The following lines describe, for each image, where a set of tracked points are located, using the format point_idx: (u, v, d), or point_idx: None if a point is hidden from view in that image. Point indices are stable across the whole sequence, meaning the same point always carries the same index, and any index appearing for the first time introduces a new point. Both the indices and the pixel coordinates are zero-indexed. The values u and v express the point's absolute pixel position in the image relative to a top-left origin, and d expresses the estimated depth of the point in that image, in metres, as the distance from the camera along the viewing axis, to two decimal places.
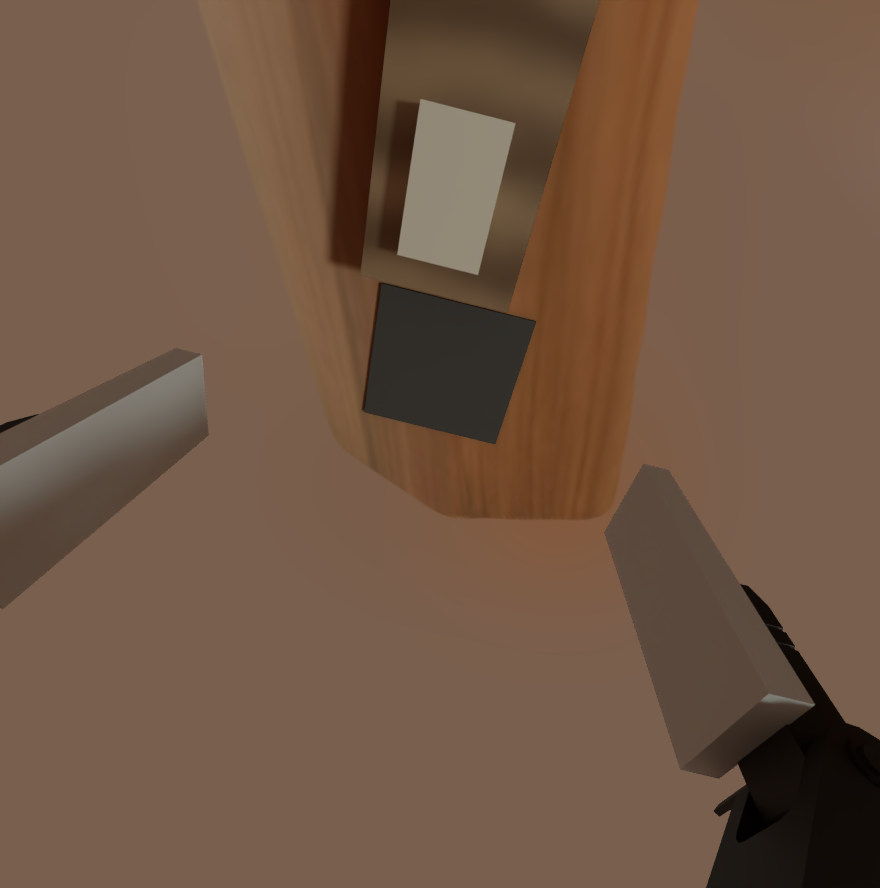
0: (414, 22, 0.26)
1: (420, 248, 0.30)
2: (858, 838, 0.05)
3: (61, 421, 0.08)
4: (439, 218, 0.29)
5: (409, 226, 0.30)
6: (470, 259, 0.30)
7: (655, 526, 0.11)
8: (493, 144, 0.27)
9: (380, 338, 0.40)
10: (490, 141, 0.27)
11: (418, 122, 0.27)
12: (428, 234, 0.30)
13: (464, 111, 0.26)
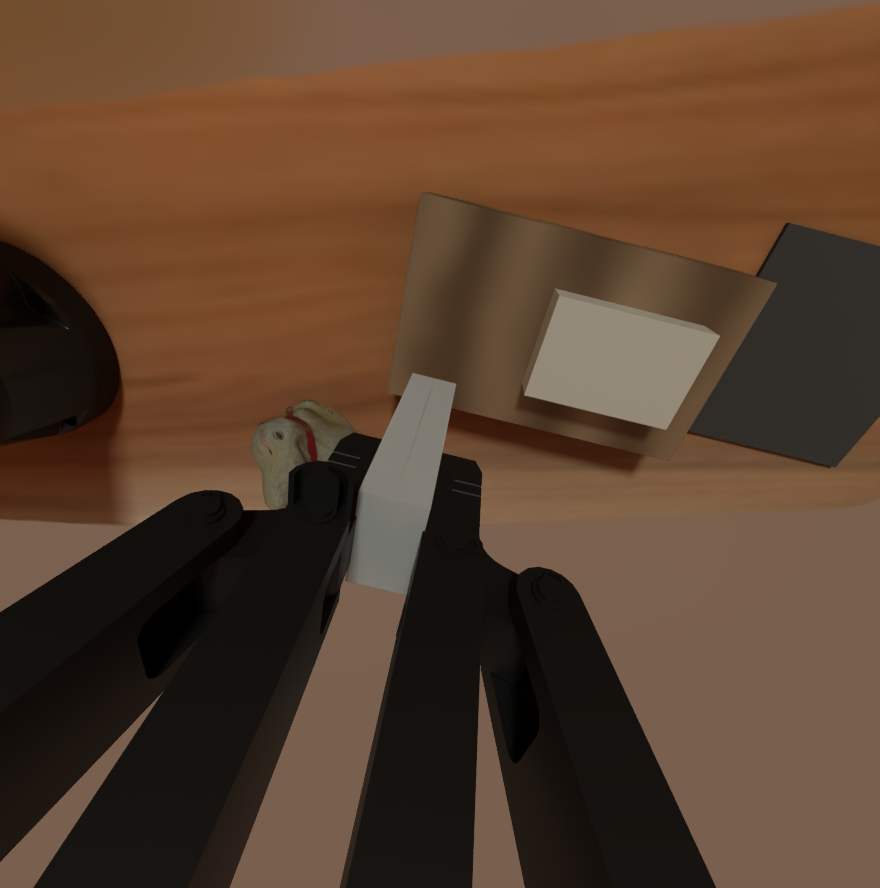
0: (461, 388, 0.28)
1: (666, 404, 0.25)
2: (437, 601, 0.07)
3: (403, 439, 0.10)
4: (638, 381, 0.25)
5: (638, 414, 0.26)
6: (697, 345, 0.23)
7: None
8: (575, 320, 0.23)
9: (738, 435, 0.32)
10: (572, 323, 0.23)
11: (543, 398, 0.26)
12: (653, 394, 0.25)
13: (540, 352, 0.24)
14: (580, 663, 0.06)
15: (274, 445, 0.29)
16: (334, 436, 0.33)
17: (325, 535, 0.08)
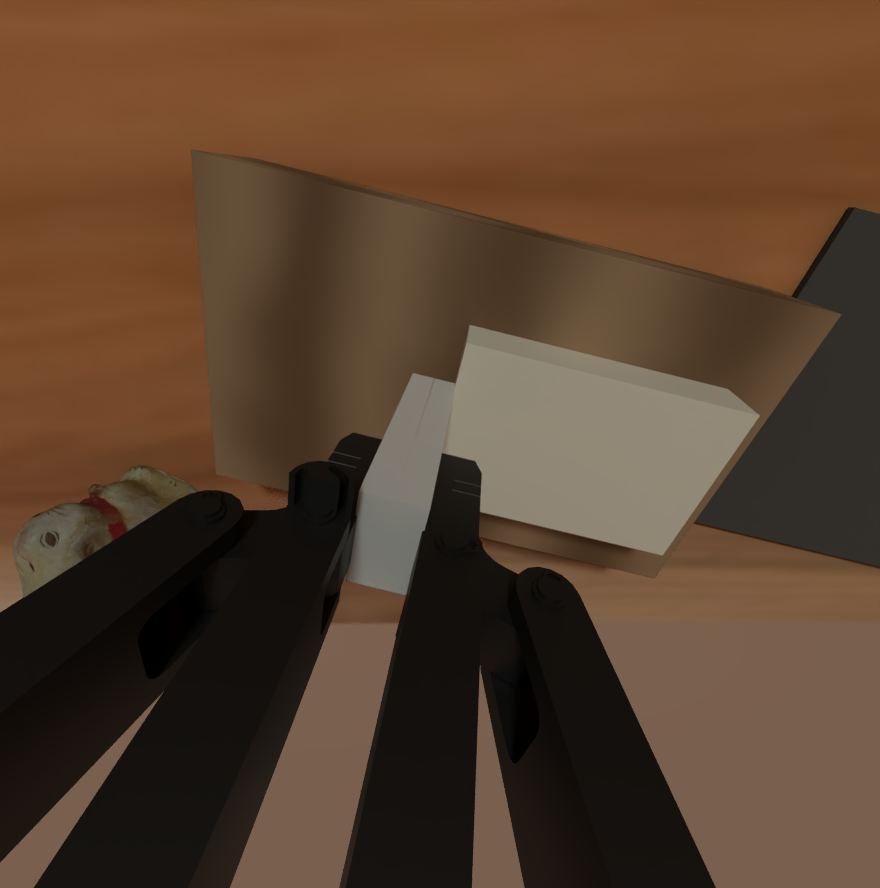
0: None
1: (662, 519, 0.15)
2: (436, 601, 0.07)
3: (403, 439, 0.10)
4: (615, 484, 0.14)
5: (616, 532, 0.15)
6: (717, 429, 0.13)
7: None
8: (499, 385, 0.13)
9: (757, 527, 0.22)
10: (494, 390, 0.13)
11: None
12: (639, 504, 0.15)
13: None
14: (580, 663, 0.06)
15: (38, 557, 0.18)
16: None
17: (325, 535, 0.08)
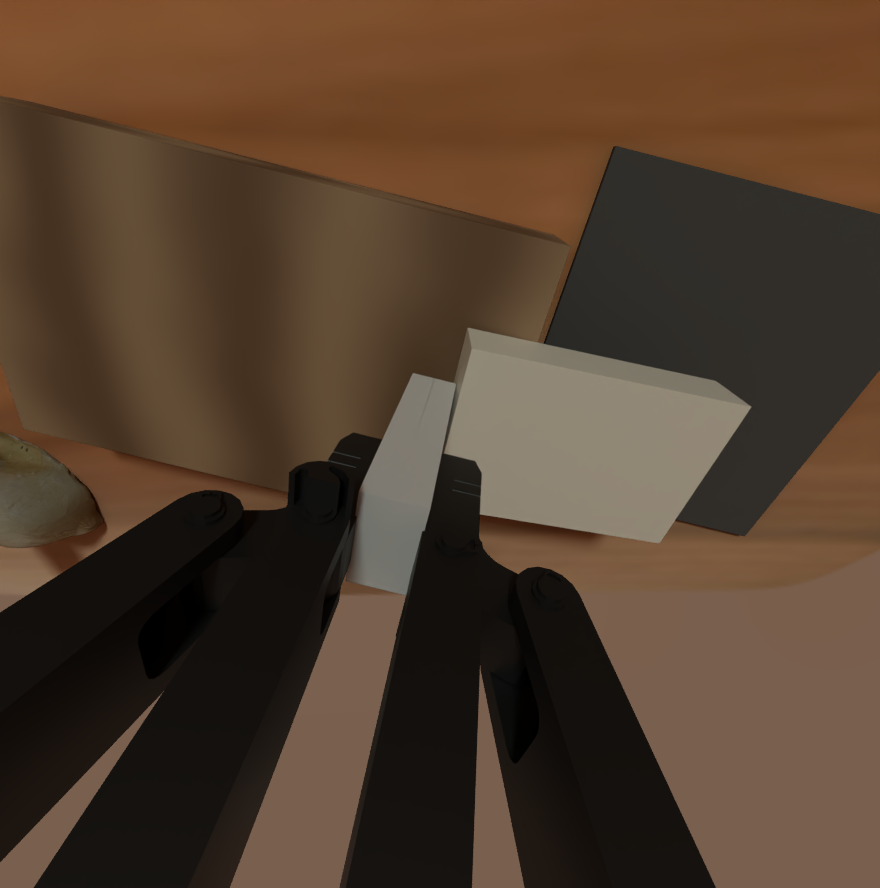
0: (125, 424, 0.18)
1: (660, 509, 0.15)
2: (437, 602, 0.07)
3: (403, 440, 0.10)
4: (616, 479, 0.15)
5: (616, 524, 0.16)
6: (712, 422, 0.14)
7: None
8: (505, 389, 0.13)
9: None
10: (499, 395, 0.13)
11: None
12: (639, 497, 0.15)
13: (449, 441, 0.14)
14: (580, 663, 0.06)
15: None
16: (9, 487, 0.22)
17: (325, 535, 0.08)
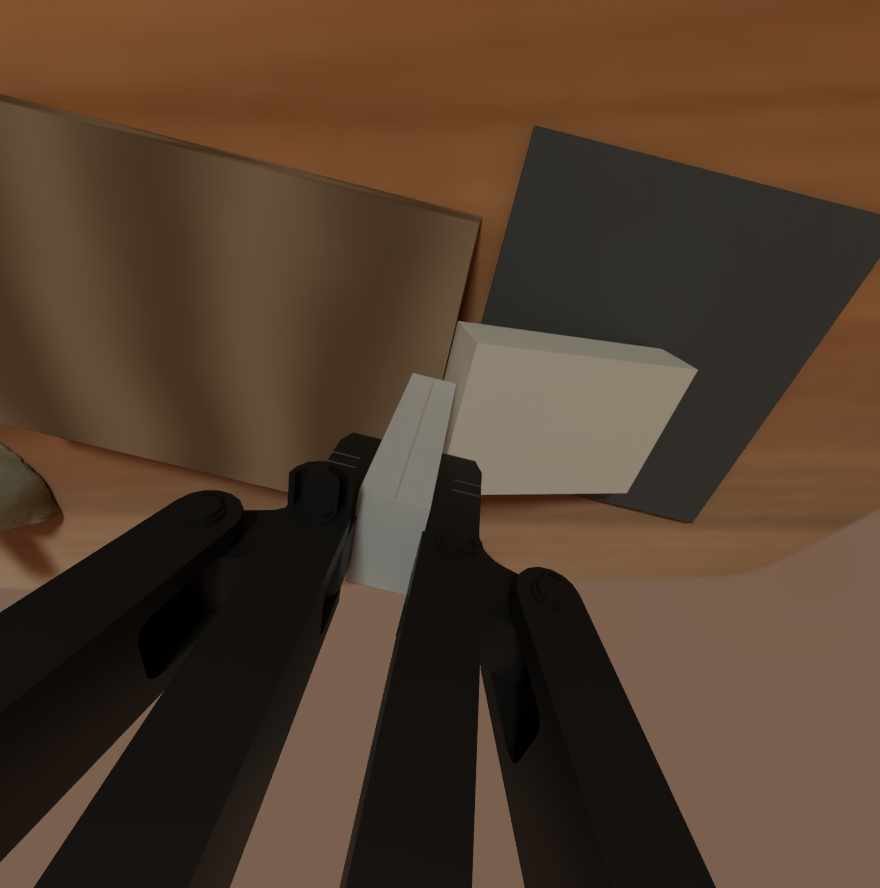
0: (60, 408, 0.18)
1: (628, 465, 0.18)
2: (437, 601, 0.07)
3: (403, 439, 0.10)
4: (595, 444, 0.17)
5: (594, 483, 0.18)
6: (670, 385, 0.16)
7: None
8: (506, 377, 0.14)
9: None
10: (501, 383, 0.14)
11: None
12: (613, 457, 0.17)
13: (454, 432, 0.15)
14: (580, 663, 0.06)
15: None
16: None
17: (325, 535, 0.08)
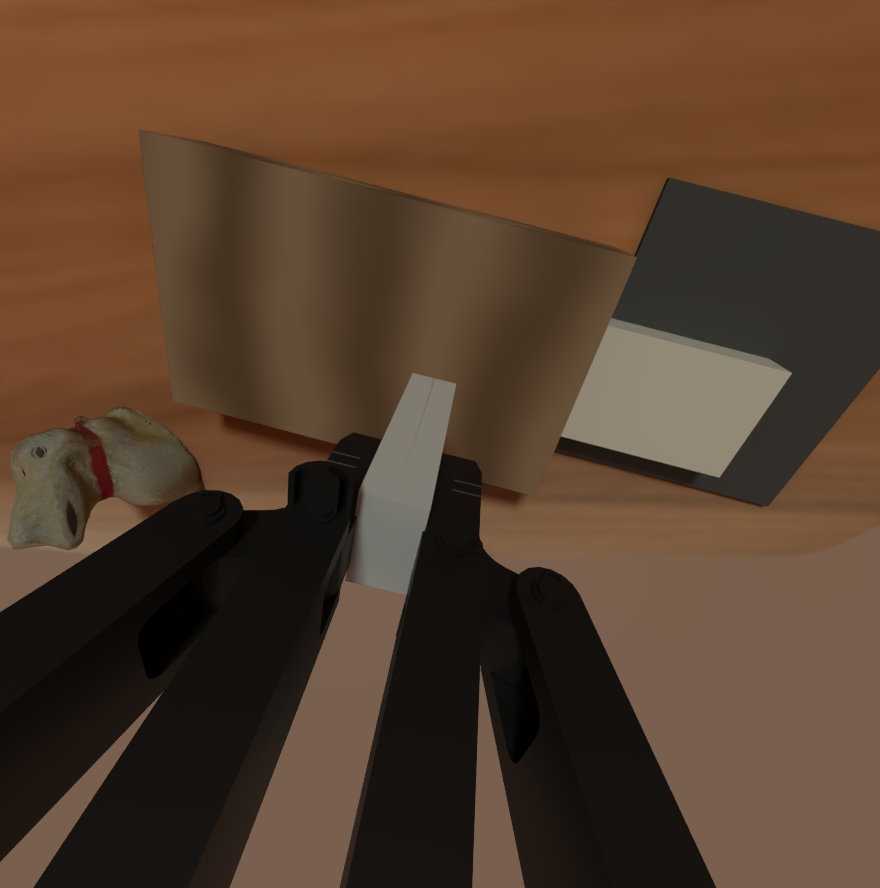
0: (258, 397, 0.22)
1: (721, 449, 0.22)
2: (437, 602, 0.07)
3: (403, 439, 0.10)
4: (689, 422, 0.21)
5: (687, 459, 0.22)
6: (763, 382, 0.20)
7: None
8: (617, 351, 0.20)
9: (638, 463, 0.25)
10: (613, 355, 0.20)
11: (575, 438, 0.22)
12: (705, 438, 0.21)
13: None
14: (580, 663, 0.06)
15: (29, 465, 0.23)
16: (141, 453, 0.27)
17: (325, 535, 0.08)
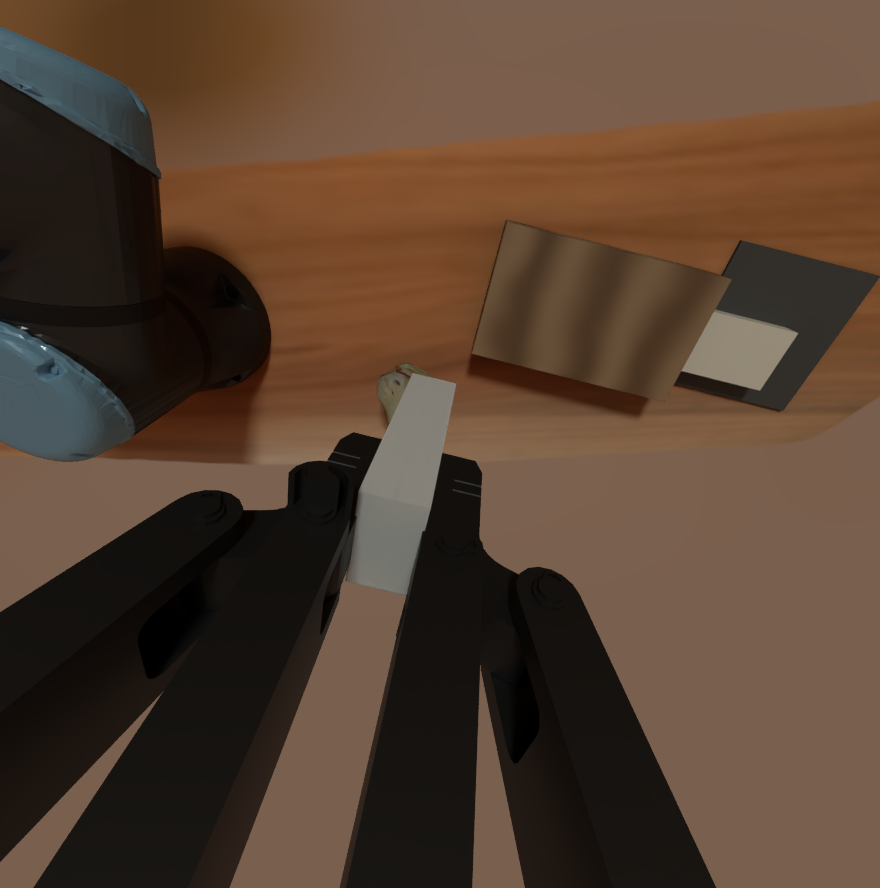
0: (522, 350, 0.42)
1: (761, 374, 0.42)
2: (437, 602, 0.07)
3: (403, 439, 0.10)
4: (746, 360, 0.42)
5: (743, 380, 0.43)
6: (784, 338, 0.40)
7: None
8: (713, 323, 0.40)
9: (713, 387, 0.45)
10: (710, 325, 0.40)
11: (685, 370, 0.43)
12: (754, 368, 0.42)
13: None
14: (580, 663, 0.06)
15: (395, 388, 0.42)
16: None
17: (325, 535, 0.08)
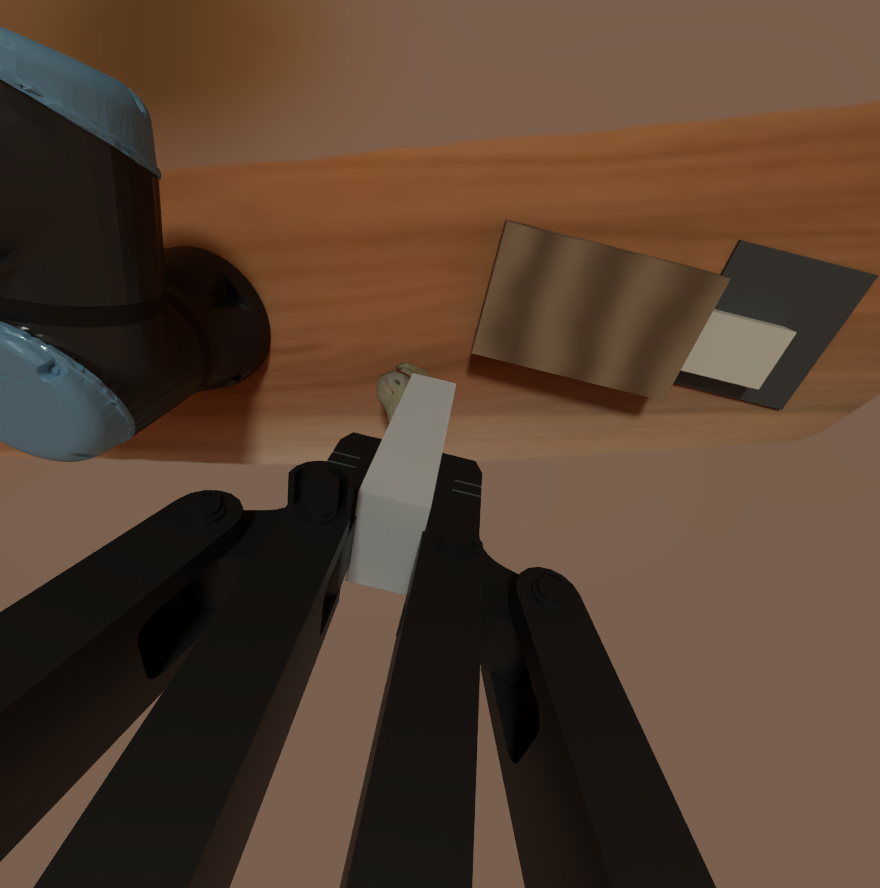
0: (522, 350, 0.42)
1: (760, 373, 0.42)
2: (437, 602, 0.07)
3: (403, 439, 0.10)
4: (745, 359, 0.42)
5: (742, 379, 0.43)
6: (782, 337, 0.40)
7: None
8: (712, 323, 0.40)
9: (712, 387, 0.45)
10: (709, 325, 0.40)
11: (684, 370, 0.43)
12: (753, 367, 0.42)
13: None
14: (580, 663, 0.06)
15: (395, 388, 0.42)
16: None
17: (325, 535, 0.08)
